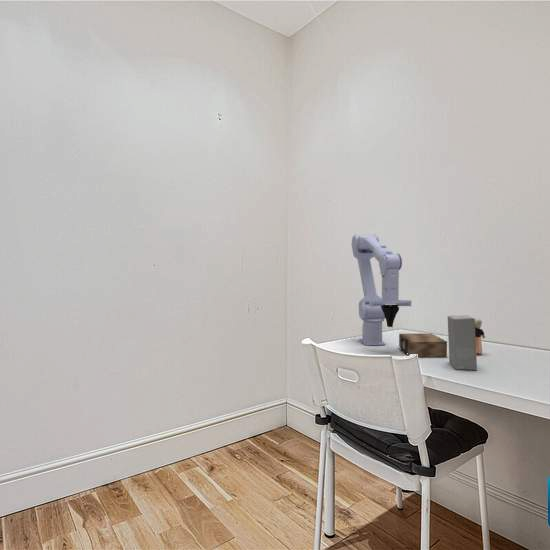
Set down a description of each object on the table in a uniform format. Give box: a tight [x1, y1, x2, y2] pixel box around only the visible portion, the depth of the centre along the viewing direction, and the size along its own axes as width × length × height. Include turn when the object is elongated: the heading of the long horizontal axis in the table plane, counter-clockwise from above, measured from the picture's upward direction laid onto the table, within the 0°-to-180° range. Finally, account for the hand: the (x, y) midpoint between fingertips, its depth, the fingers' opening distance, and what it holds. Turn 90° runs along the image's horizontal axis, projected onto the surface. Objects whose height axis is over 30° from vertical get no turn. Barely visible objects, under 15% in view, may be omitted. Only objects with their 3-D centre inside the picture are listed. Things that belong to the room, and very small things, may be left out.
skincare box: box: [447, 314, 478, 371], centre depth 128 cm, size 8×7×16 cm
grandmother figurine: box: [475, 317, 486, 356], centre depth 143 cm, size 8×4×13 cm, turn 122°
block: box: [398, 332, 448, 359], centre depth 146 cm, size 13×14×5 cm
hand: (389, 326), depth 145 cm, fingers closed
